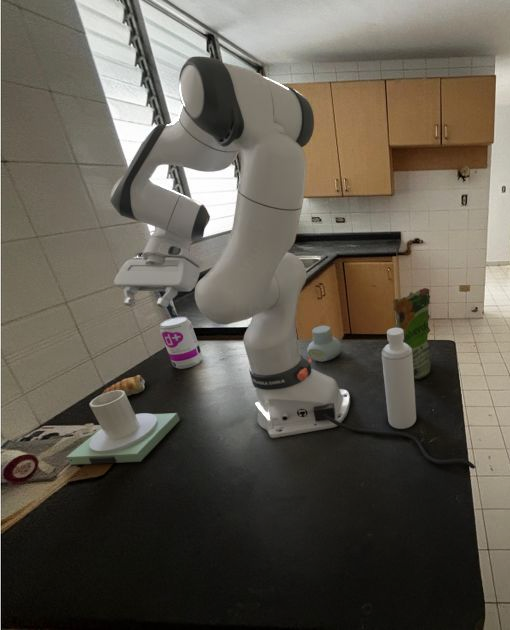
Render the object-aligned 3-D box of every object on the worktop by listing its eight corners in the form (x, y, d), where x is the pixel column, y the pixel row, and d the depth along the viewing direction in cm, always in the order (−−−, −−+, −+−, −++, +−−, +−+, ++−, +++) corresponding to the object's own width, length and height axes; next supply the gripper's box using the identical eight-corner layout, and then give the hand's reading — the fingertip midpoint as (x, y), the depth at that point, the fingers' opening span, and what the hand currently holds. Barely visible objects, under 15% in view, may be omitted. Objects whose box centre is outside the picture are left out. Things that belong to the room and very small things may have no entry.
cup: (145, 421, 79) (131, 389, 75) (126, 439, 73) (109, 406, 70) (121, 422, 79) (105, 390, 75) (99, 440, 73) (81, 407, 70)
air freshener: (347, 352, 111) (343, 325, 107) (334, 365, 104) (329, 336, 100) (319, 348, 114) (314, 322, 110) (304, 361, 107) (298, 333, 103)
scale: (180, 420, 83) (176, 410, 82) (139, 463, 71) (133, 452, 69) (119, 422, 83) (115, 413, 82) (68, 466, 71) (62, 455, 70)
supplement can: (193, 369, 105) (177, 326, 100) (167, 370, 106) (150, 327, 100) (208, 356, 113) (195, 315, 107) (184, 357, 113) (170, 316, 107)
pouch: (432, 359, 105) (429, 283, 95) (435, 381, 94) (432, 297, 84) (396, 361, 104) (390, 285, 95) (395, 383, 93) (388, 300, 84)
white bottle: (400, 406, 84) (392, 315, 74) (421, 416, 80) (416, 321, 71) (382, 422, 79) (371, 326, 69) (404, 433, 75) (397, 334, 66)
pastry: (103, 405, 90) (97, 393, 89) (104, 393, 95) (99, 382, 94) (146, 391, 95) (141, 379, 94) (145, 381, 100) (140, 370, 99)
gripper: (119, 249, 84) (95, 299, 79) (190, 249, 81) (170, 301, 76) (142, 262, 90) (121, 309, 85) (209, 262, 87) (191, 311, 82)
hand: (144, 305), depth 80 cm, fingers open, 8 cm apart
